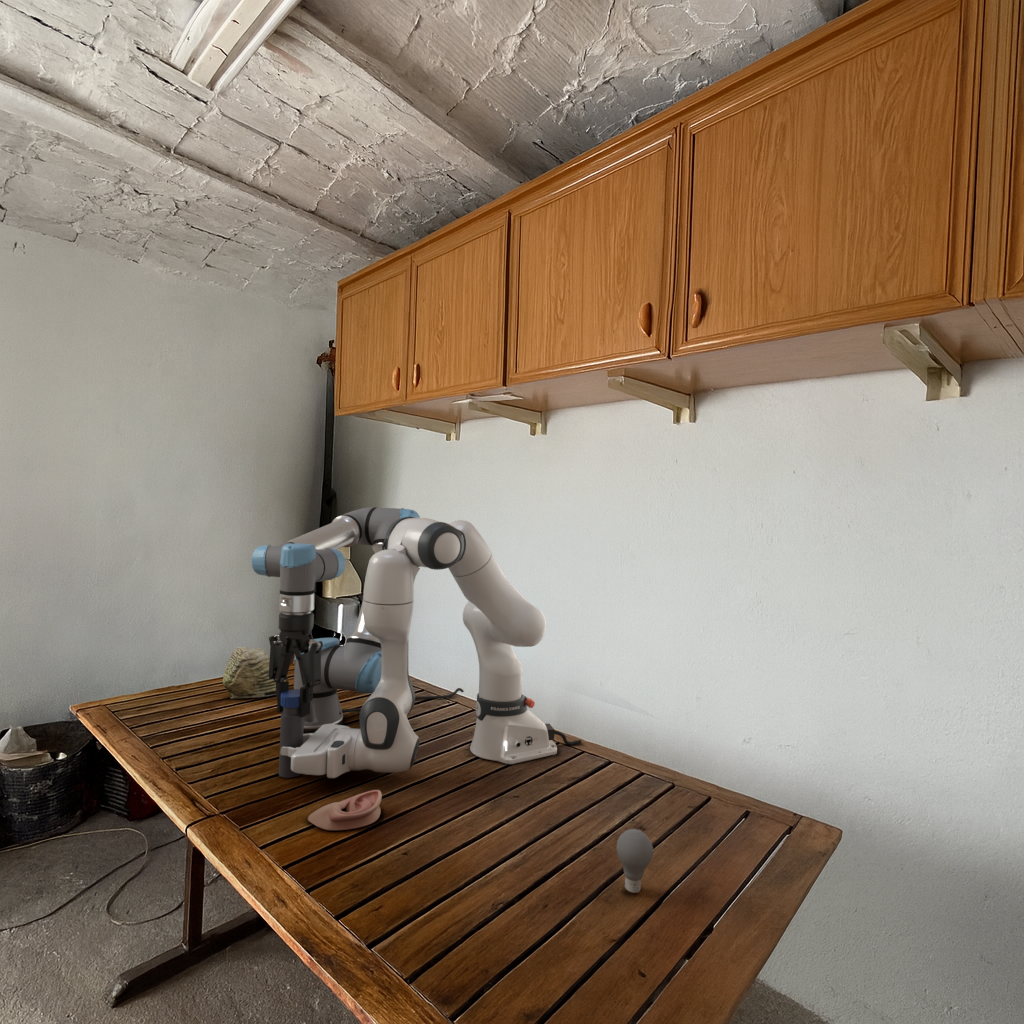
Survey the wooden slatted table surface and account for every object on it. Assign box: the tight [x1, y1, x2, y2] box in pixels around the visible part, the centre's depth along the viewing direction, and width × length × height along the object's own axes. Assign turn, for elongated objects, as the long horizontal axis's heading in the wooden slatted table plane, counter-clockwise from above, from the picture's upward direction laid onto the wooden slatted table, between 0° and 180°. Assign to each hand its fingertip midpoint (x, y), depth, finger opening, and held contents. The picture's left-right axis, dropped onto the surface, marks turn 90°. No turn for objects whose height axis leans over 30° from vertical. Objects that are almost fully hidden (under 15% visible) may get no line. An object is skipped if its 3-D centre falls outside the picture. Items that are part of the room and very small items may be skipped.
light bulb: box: [615, 828, 654, 894], centre depth 106 cm, size 6×6×10 cm
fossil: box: [222, 646, 287, 699], centre depth 198 cm, size 9×18×15 cm, turn 132°
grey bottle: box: [278, 707, 304, 779], centre depth 144 cm, size 5×5×16 cm
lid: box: [280, 688, 300, 708], centre depth 144 cm, size 6×6×2 cm
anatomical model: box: [307, 789, 383, 831], centre depth 126 cm, size 13×4×12 cm
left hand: (293, 712), depth 144 cm, fingers closed on lid, 6 cm apart
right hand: (287, 744), depth 144 cm, fingers closed on grey bottle, 5 cm apart
